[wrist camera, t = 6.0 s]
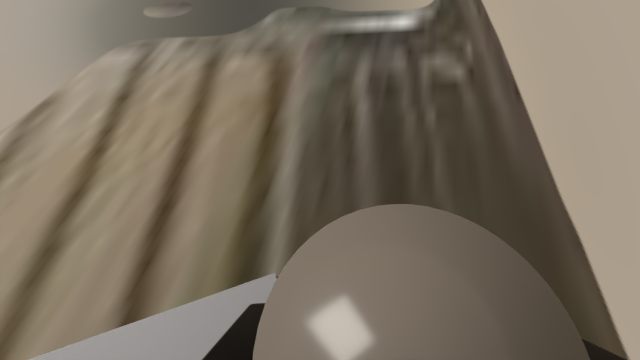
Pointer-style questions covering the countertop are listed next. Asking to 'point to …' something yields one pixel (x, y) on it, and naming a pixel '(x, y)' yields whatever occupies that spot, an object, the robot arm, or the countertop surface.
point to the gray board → (171, 329)
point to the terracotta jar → (412, 295)
